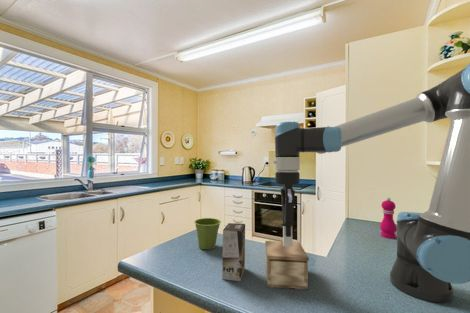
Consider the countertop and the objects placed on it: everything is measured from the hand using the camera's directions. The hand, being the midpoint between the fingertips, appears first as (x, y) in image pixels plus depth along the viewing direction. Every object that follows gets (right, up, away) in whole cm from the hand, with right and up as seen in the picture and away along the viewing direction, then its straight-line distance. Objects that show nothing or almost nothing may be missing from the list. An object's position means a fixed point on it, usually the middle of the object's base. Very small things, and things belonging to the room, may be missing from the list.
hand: (287, 245), depth 72 cm
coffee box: (-17, -12, +6) cm, 22 cm away
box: (0, -12, +4) cm, 13 cm away
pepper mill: (+62, -13, +45) cm, 77 cm away
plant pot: (-29, -12, +29) cm, 43 cm away
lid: (0, -4, +4) cm, 5 cm away
